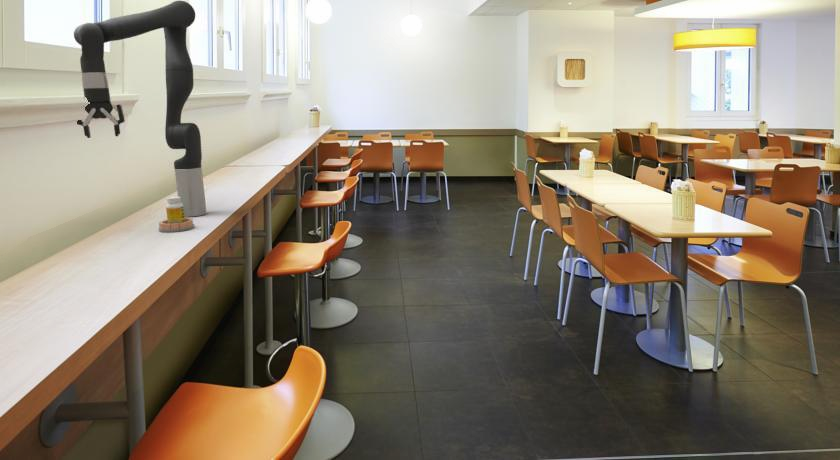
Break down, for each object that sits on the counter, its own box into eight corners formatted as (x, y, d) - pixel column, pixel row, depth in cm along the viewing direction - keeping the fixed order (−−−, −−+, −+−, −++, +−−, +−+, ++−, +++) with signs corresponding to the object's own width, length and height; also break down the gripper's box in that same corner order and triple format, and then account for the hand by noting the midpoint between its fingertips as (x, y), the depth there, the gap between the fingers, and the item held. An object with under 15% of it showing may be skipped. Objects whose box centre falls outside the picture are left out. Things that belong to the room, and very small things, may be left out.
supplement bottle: (168, 225, 206) (165, 196, 204) (186, 224, 208) (182, 195, 206) (167, 228, 201) (164, 199, 199) (185, 227, 203) (182, 197, 201)
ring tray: (160, 227, 208) (159, 219, 208) (195, 224, 211) (194, 216, 211) (157, 233, 198) (156, 225, 198) (193, 230, 201) (192, 222, 201)
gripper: (121, 86, 211) (127, 135, 214) (74, 88, 207) (81, 137, 210) (117, 86, 204) (124, 136, 207) (69, 87, 200) (76, 138, 203)
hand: (103, 137), depth 209 cm, fingers open, 8 cm apart
